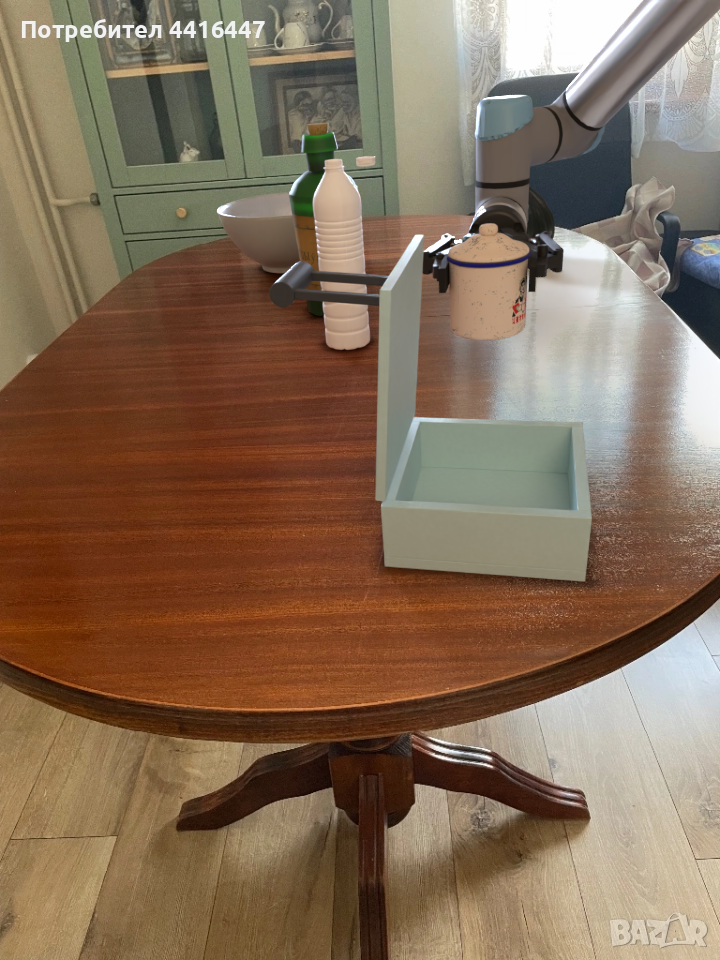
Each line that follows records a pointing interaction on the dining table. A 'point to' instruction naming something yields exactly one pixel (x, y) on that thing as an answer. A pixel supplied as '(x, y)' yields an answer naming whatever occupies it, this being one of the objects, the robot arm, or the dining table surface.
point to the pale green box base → (490, 499)
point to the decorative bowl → (263, 230)
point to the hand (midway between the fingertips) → (486, 280)
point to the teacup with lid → (488, 285)
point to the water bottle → (341, 252)
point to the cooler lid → (395, 342)
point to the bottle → (311, 198)
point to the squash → (539, 216)
